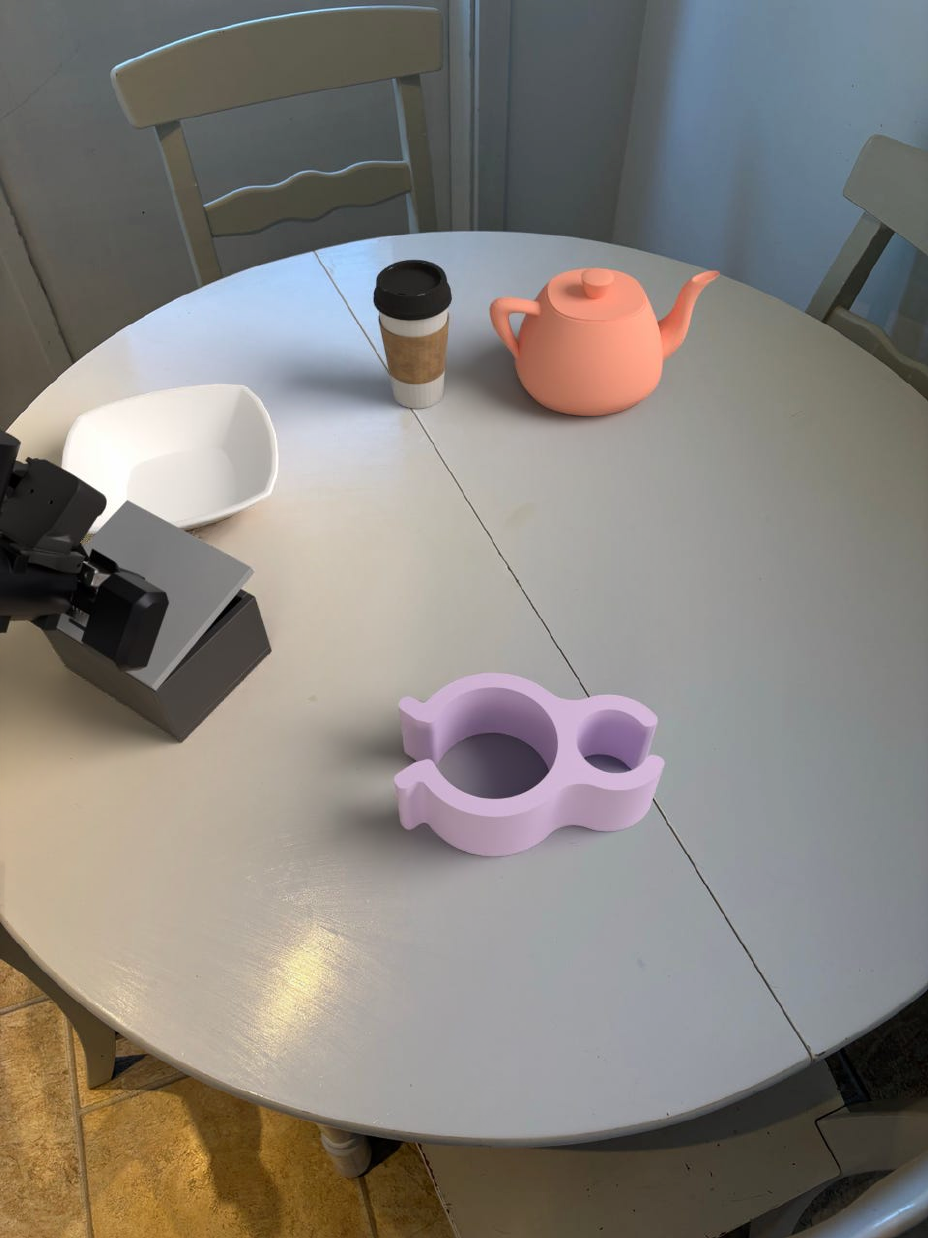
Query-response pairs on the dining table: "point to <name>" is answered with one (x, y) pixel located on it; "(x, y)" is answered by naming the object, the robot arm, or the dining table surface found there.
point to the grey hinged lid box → (182, 670)
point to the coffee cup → (414, 329)
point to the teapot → (593, 339)
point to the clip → (554, 734)
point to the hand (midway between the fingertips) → (140, 581)
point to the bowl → (177, 453)
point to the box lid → (168, 581)
